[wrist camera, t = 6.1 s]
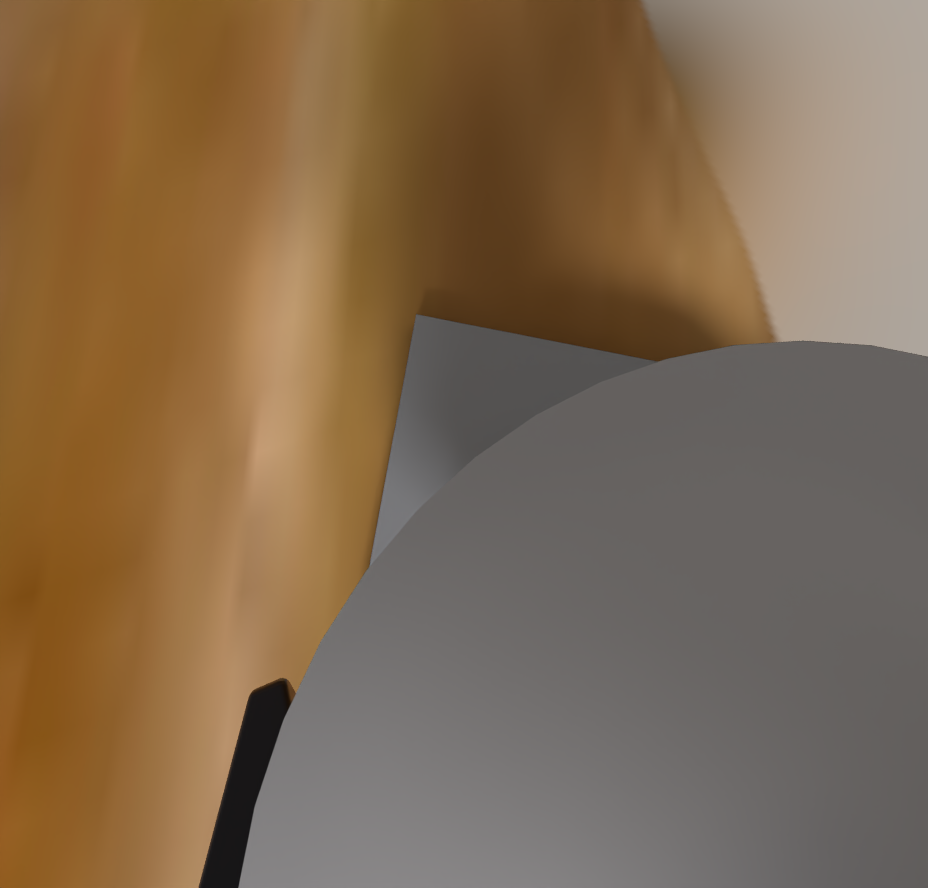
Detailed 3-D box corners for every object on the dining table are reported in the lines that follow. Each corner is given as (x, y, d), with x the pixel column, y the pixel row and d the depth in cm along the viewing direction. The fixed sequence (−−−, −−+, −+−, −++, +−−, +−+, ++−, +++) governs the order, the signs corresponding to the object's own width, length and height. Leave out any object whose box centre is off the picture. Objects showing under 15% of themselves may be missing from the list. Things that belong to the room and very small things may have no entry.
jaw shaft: (644, 619, 17) (1534, 669, 4) (530, 863, 16) (1252, 2029, 3) (422, 498, 17) (593, 150, 4) (292, 734, 15) (-60, 1321, 3)
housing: (945, 429, 26) (1102, 382, 20) (924, 865, 23) (1096, 947, 18) (414, 325, 24) (428, 245, 19) (330, 776, 22) (318, 834, 16)
